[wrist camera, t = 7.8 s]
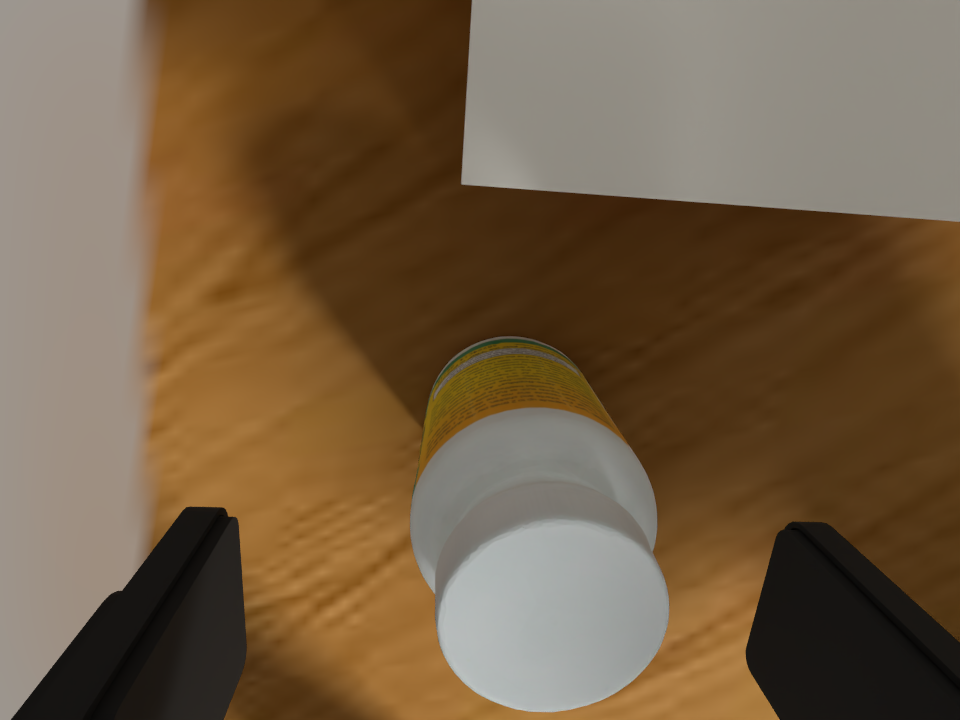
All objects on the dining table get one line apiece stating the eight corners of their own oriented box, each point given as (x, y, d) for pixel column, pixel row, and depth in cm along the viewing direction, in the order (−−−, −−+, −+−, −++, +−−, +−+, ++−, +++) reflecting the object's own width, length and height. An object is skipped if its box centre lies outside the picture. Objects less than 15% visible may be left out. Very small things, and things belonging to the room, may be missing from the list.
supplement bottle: (615, 439, 19) (758, 672, 10) (474, 508, 20) (489, 787, 11) (544, 300, 18) (638, 425, 9) (394, 379, 18) (333, 575, 9)
